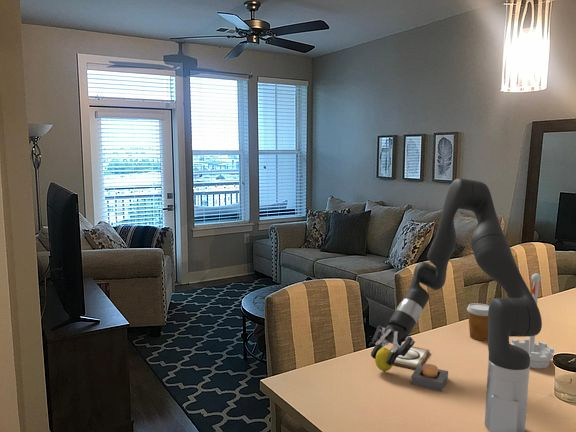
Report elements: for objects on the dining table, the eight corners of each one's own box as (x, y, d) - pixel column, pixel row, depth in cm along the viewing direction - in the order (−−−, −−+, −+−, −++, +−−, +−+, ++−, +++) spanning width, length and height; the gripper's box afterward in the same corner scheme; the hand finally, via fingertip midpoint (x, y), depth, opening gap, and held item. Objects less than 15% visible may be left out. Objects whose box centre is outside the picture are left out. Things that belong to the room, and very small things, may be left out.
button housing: (441, 391, 136) (442, 383, 136) (410, 384, 140) (411, 376, 140) (447, 378, 144) (448, 371, 144) (418, 372, 148) (418, 364, 148)
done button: (435, 379, 139) (436, 371, 139) (420, 376, 141) (421, 368, 141) (438, 373, 143) (439, 366, 142) (424, 370, 145) (424, 363, 145)
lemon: (372, 373, 147) (373, 349, 146) (378, 366, 152) (378, 343, 151) (390, 377, 144) (390, 352, 143) (395, 370, 149) (395, 346, 148)
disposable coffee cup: (498, 340, 175) (500, 309, 174) (478, 343, 172) (480, 311, 171) (479, 331, 184) (480, 301, 183) (459, 334, 181) (461, 304, 179)
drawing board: (417, 370, 150) (418, 366, 150) (381, 362, 156) (381, 358, 155) (429, 352, 164) (429, 349, 163) (395, 345, 169) (395, 342, 169)
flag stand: (514, 350, 166) (520, 267, 163) (556, 360, 158) (563, 273, 155) (504, 362, 156) (509, 274, 153) (548, 373, 148) (555, 280, 145)
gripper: (383, 304, 156) (357, 347, 150) (419, 315, 145) (393, 362, 139) (393, 316, 160) (368, 359, 154) (429, 328, 149) (404, 374, 143)
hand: (380, 360), depth 146 cm, fingers closed on lemon, 5 cm apart
